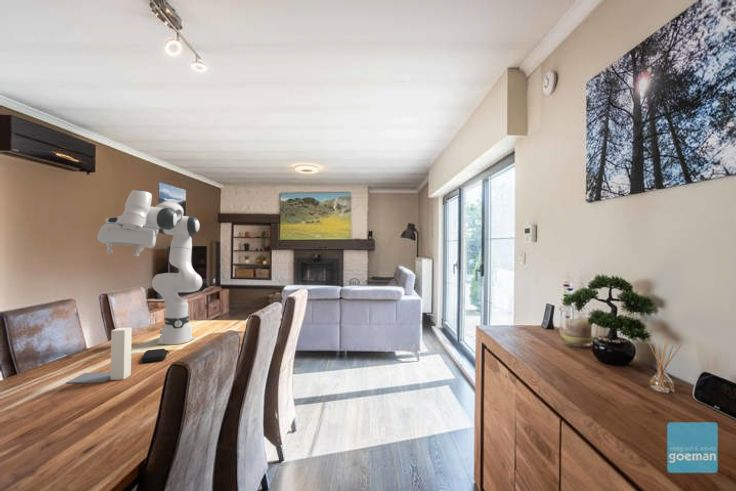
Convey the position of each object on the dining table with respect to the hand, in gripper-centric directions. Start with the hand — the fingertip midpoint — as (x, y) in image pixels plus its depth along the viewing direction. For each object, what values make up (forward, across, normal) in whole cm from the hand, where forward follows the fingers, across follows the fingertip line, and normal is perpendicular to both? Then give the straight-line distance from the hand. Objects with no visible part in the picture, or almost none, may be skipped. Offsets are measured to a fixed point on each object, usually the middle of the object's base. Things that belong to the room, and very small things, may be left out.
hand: (122, 254), depth 136 cm
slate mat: (+46, +7, -24) cm, 52 cm away
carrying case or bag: (+37, -8, -45) cm, 59 cm away
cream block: (+46, -3, -22) cm, 51 cm away
